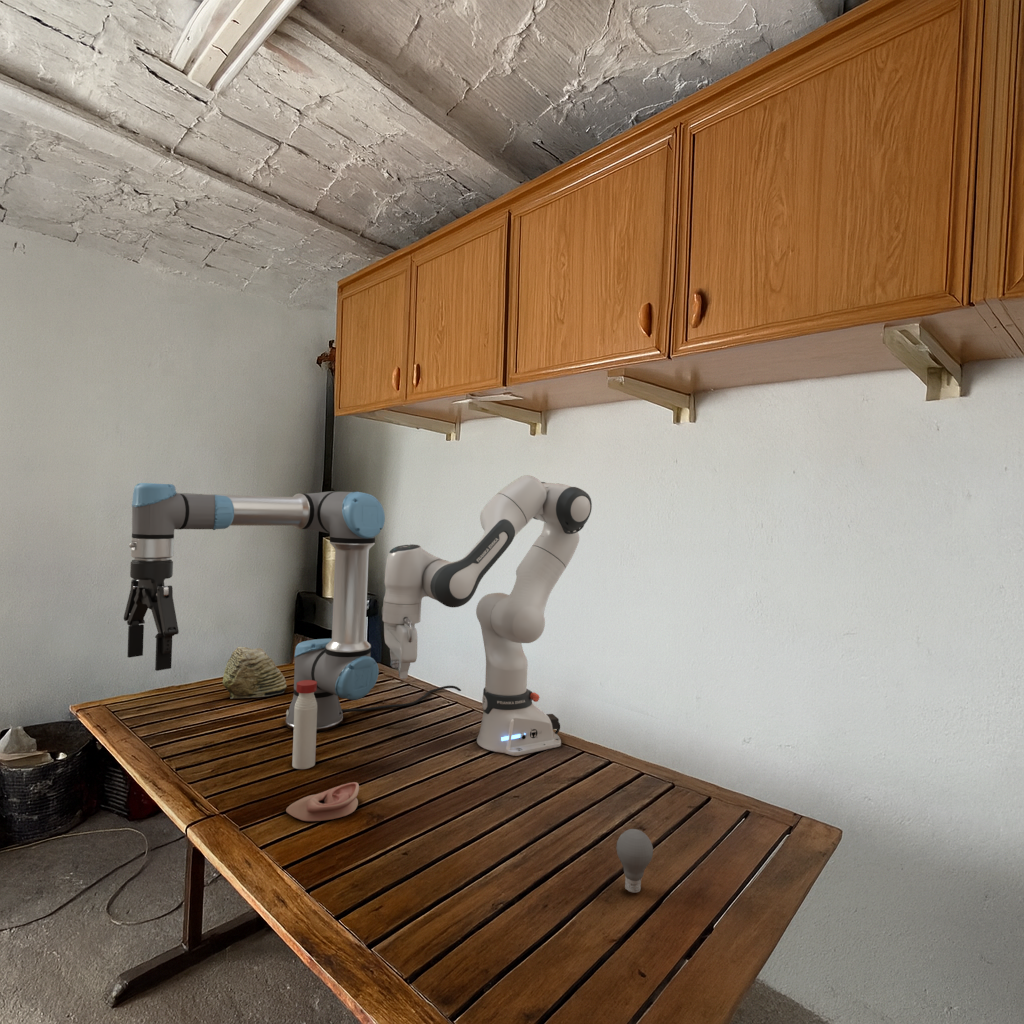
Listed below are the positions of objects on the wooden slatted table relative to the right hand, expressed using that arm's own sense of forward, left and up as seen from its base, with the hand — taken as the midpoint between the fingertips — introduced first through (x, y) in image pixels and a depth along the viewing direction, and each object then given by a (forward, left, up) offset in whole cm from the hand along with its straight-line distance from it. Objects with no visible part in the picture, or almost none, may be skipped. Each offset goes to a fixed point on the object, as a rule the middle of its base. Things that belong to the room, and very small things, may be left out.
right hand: (398, 672), depth 149 cm
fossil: (+31, -65, -23) cm, 76 cm away
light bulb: (-28, +58, -23) cm, 69 cm away
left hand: (+52, 0, +5) cm, 52 cm away
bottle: (+20, -8, -23) cm, 31 cm away
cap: (+20, -8, -4) cm, 22 cm away
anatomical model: (+18, +15, -23) cm, 33 cm away
